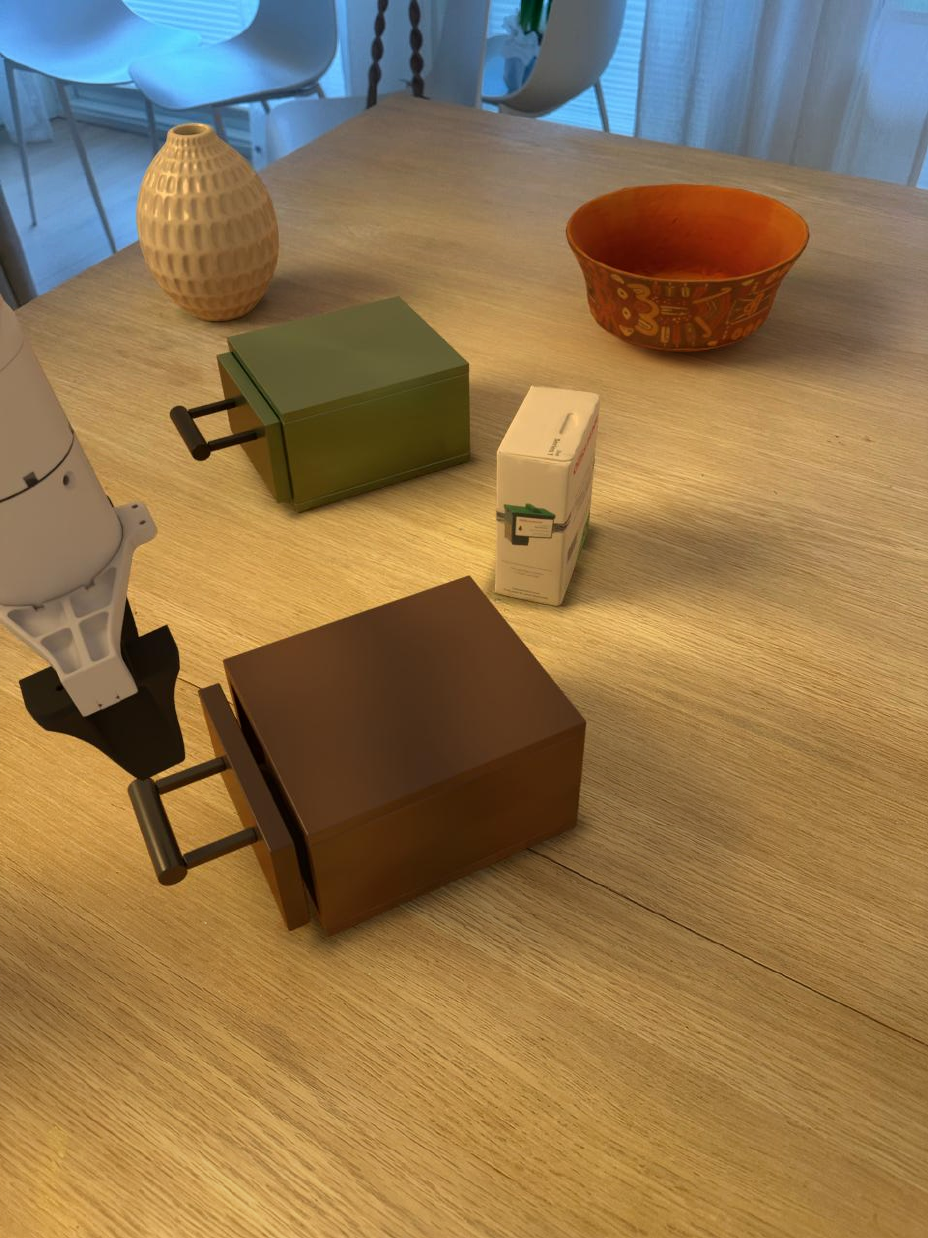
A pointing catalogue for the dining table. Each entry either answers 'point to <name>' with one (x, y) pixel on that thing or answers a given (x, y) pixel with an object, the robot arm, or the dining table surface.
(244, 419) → the drawer
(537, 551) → the ink box
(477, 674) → the brown drawer cabinet
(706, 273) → the bowl
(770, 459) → the dining table surface
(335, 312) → the green drawer cabinet
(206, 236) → the vase
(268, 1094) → the dining table surface
